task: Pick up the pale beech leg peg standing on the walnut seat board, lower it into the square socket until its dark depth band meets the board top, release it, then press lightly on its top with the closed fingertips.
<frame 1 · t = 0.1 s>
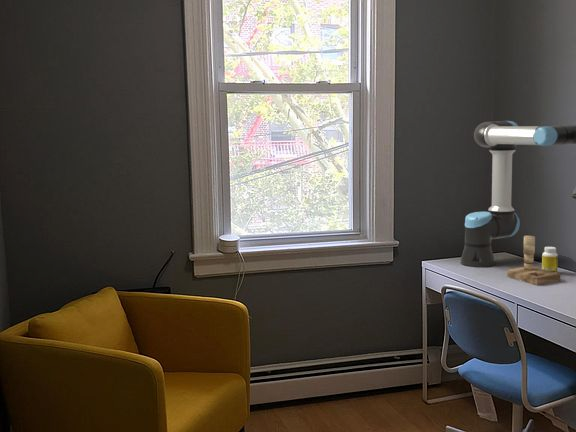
seat board: (533, 278, 256), on the table
leg peg: (528, 269, 260), point 3 cm above the table, touching seat board
pill bottle: (549, 273, 265), on the table
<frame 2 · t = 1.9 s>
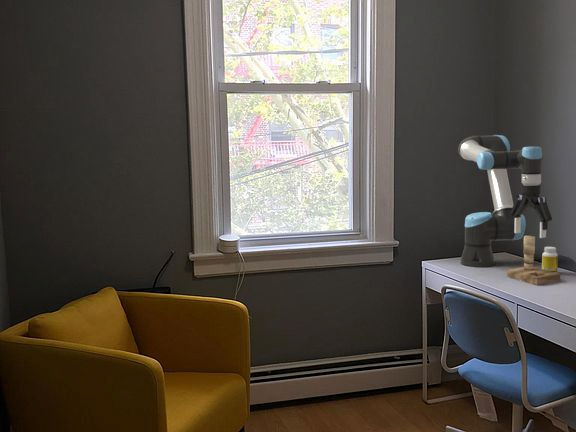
hand: (529, 235, 257), 18 cm above the table, fingers open, 13 cm apart
nothing on the table moved.
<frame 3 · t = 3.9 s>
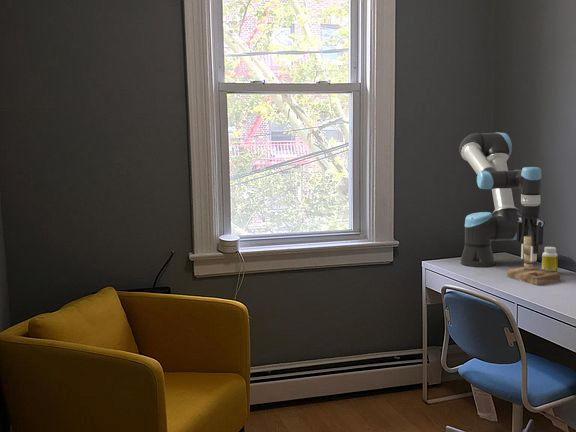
hand: (528, 259, 259), 7 cm above the table, fingers closed on leg peg, 4 cm apart
leg peg: (528, 269, 260), point 3 cm above the table, touching gripper, seat board
everything else where it was.
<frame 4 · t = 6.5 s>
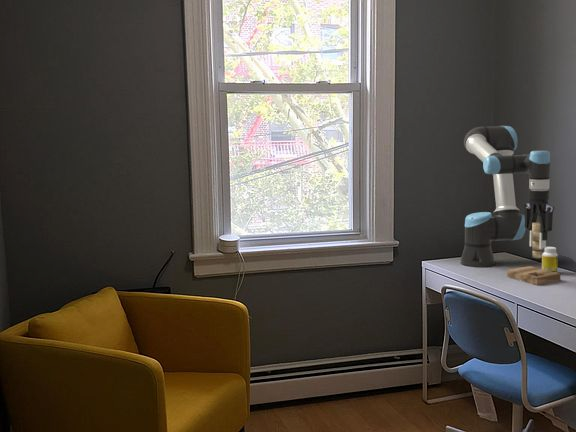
hand: (537, 247, 250), 14 cm above the table, fingers closed on leg peg, 4 cm apart
leg peg: (537, 257, 250), point 10 cm above the table, touching gripper
everything else where it was.
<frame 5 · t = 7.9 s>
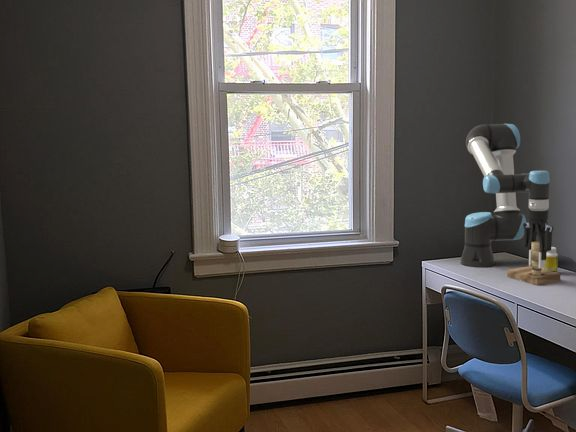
hand: (536, 266, 251), 6 cm above the table, fingers closed on leg peg, 4 cm apart
leg peg: (536, 276, 251), point 2 cm above the table, touching gripper
everything else where it was.
when the fingers open (5 cm above the table, at t = 9.2 s): leg peg stays where it is, resting in seat board.
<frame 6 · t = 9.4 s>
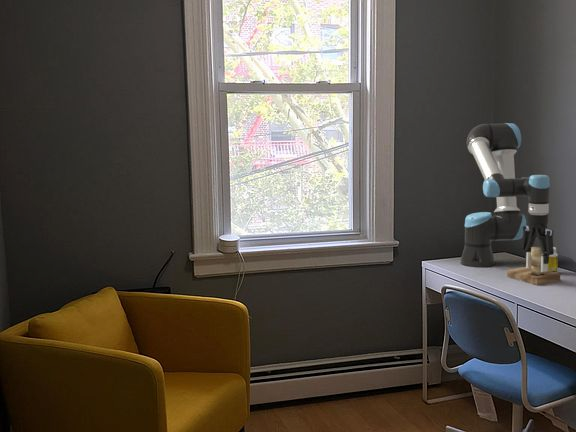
hand: (536, 269, 251), 5 cm above the table, fingers open, 7 cm apart
leg peg: (536, 281, 252), resting in seat board
everything else where it was.
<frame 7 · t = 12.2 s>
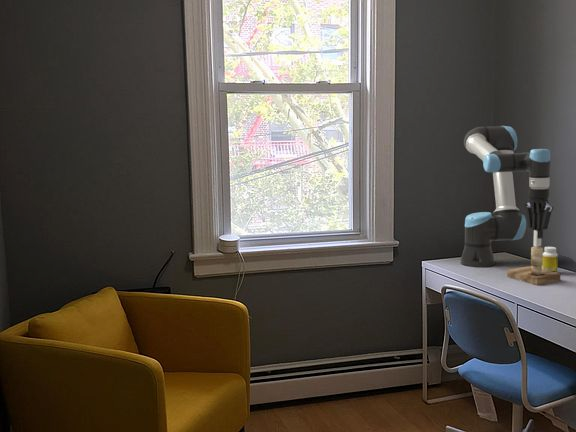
hand: (537, 245, 250), 15 cm above the table, fingers closed
nothing on the table moved.
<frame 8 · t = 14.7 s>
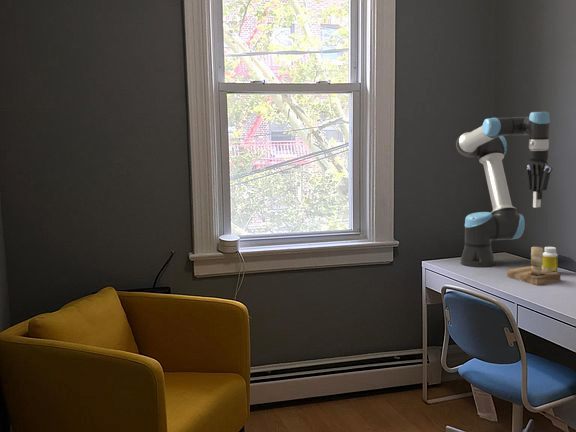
hand: (536, 207, 256), 29 cm above the table, fingers closed
nothing on the table moved.
at the end: leg peg 0.0 cm from the target spot on the seat board, point 0.0 cm above the seat board's base; leg peg tilted 0°; the gripper is holding nothing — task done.
